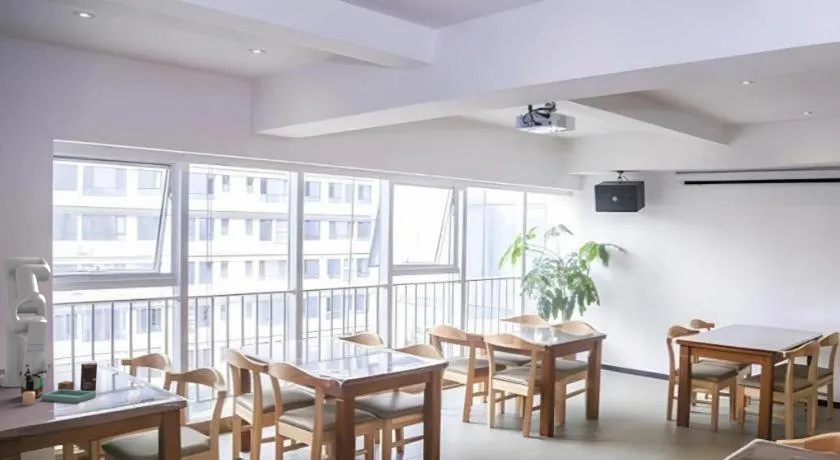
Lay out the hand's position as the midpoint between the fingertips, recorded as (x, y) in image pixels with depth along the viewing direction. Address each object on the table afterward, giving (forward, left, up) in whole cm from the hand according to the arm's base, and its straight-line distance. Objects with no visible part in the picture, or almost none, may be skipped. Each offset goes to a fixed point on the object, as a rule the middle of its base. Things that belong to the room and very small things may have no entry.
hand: (34, 388), depth 301 cm
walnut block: (+7, +11, -4) cm, 13 cm away
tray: (+17, 0, -4) cm, 17 cm away
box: (+13, +18, -4) cm, 22 cm away
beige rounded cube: (+8, -13, -4) cm, 15 cm away
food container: (0, +1, -3) cm, 3 cm away
